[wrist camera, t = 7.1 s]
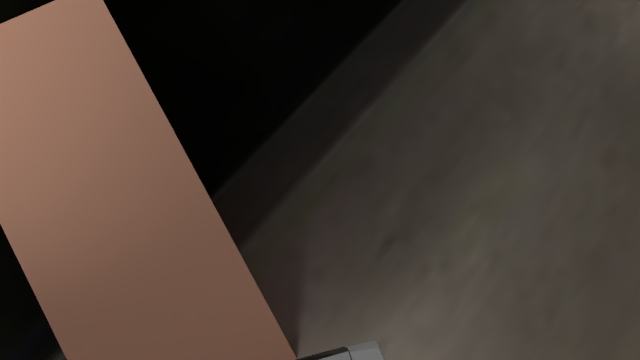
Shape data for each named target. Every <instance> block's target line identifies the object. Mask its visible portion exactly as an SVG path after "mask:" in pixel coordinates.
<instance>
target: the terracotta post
mask: <svg viewBox="0 0 640 360" xmlns="http://www.w3.org/2000/svg"><path fill="white" fill-rule="evenodd" d="M0 224H1V226H2V228H3V230H4V232H5V234H6V236H7V238H8V241H9V243H10V245H11V247H12V249H13V251H14V253H15V255H16V257H17V259H18V261H19V263H20V265H21V267H22V269H23V271H24V273H25V275H26V277H27V279H28V281H29V283H30V285H31V287H32V289H33V291H34V294H35V296H36V298H37V300H38V302H39V304H40V306H41V308H42V310H43V312H44V314H45V316H46V318H47V320H48V322H49V324H50V326H51V328H52V330H53V332H54V334H55V336H56V338H57V340H58V342H59V344H60V347H61V349H62V351H63V353H64V355H65V357H66V359H67V360H296V359H297V358H296V356H295V354H294V352H293V350H292V349H291V347H290V345H289V343H288V341H287V339H286V338H285V336H284V334H283V332H282V330H281V328H280V326H279V325H278V323H277V321H276V319H275V317H274V315H273V314H272V312H271V310H270V308H269V306H268V304H267V302H266V301H265V299H264V297H263V295H262V293H261V291H260V290H259V288H258V286H257V284H256V282H255V280H254V278H253V277H252V275H251V273H250V271H249V269H248V267H247V265H246V264H245V262H244V260H243V258H242V256H241V254H240V253H239V251H238V249H237V247H236V245H235V243H234V241H233V240H232V238H231V236H230V234H229V232H228V230H227V229H226V227H225V225H224V223H223V221H222V219H221V217H220V216H219V214H218V212H217V210H216V208H215V206H214V204H213V203H212V201H211V199H210V197H209V195H208V193H207V192H206V190H205V188H204V186H203V184H202V182H201V180H200V179H199V177H198V175H197V173H196V171H195V169H194V168H193V166H192V164H191V162H190V160H189V158H188V156H187V155H186V153H185V151H184V149H183V147H182V145H181V144H180V142H179V140H178V138H177V136H176V134H175V132H174V131H173V129H172V127H171V125H170V123H169V121H168V119H167V118H166V116H165V114H164V112H163V110H162V108H161V107H160V105H159V103H158V101H157V99H156V97H155V95H154V94H153V92H152V90H151V88H150V86H149V84H148V83H147V81H146V79H145V77H144V75H143V73H142V71H141V70H140V68H139V66H138V64H137V62H136V60H135V58H134V57H133V55H132V53H131V51H130V49H129V47H128V46H127V44H126V42H125V40H124V38H123V36H122V34H121V33H120V31H119V29H118V27H117V25H116V23H115V22H114V20H113V18H112V16H111V14H110V12H109V10H108V9H107V7H106V5H105V3H104V1H103V0H55V1H52V2H50V3H48V4H46V5H43V6H41V7H39V8H36V9H34V10H32V11H29V12H27V13H25V14H22V15H20V16H18V17H16V18H13V19H11V20H9V21H6V22H4V23H2V24H0Z"/></svg>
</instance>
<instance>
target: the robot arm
mask: <svg viewBox="0 0 640 360" xmlns="http://www.w3.org/2000/svg"><path fill="white" fill-rule="evenodd" d="M296 360H385V359H384V357H383V355H382V352H381V350H380V347H379V345H378V344H377V343H376V342H375V340H371V341H367V342H363V343H359V344H356V345H352V346H348V347H346V348H345V347H341V348H337V349H333V350H330V351H326V352H322V353H319V354H315V355H311V356H307V357H304V358H300V359H296Z"/></svg>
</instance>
